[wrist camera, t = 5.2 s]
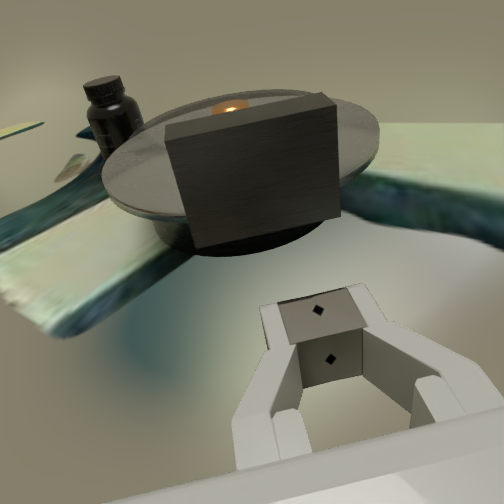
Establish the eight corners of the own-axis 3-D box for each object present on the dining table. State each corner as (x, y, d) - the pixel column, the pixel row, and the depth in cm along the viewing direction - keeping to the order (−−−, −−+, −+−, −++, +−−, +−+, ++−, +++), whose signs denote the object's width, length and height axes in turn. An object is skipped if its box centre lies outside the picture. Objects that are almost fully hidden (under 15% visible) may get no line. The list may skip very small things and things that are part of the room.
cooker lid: (456, 191, 22) (473, 75, 19) (75, 275, 21) (20, 171, 18) (327, 92, 41) (324, 25, 37) (122, 135, 40) (99, 71, 37)
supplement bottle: (135, 155, 62) (106, 72, 55) (166, 159, 59) (139, 72, 52) (99, 174, 58) (64, 88, 51) (130, 180, 54) (96, 88, 48)
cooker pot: (366, 228, 37) (367, 131, 32) (149, 276, 36) (113, 186, 31) (308, 150, 53) (302, 78, 48) (158, 182, 52) (135, 113, 47)
